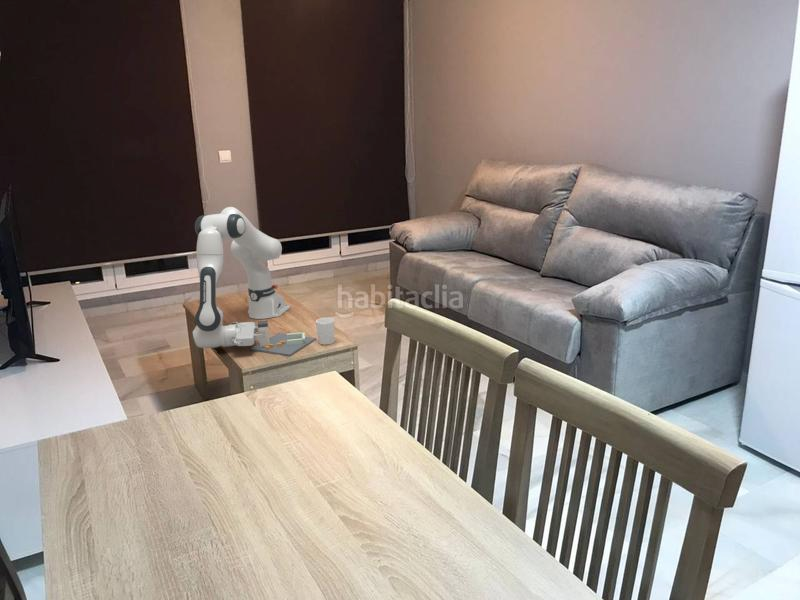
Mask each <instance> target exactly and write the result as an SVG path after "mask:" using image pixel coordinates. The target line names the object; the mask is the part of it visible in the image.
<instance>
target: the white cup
mask: <svg viewBox="0 0 800 600" xmlns="http://www.w3.org/2000/svg"><path fill="white" fill-rule="evenodd" d="M315 325H316V335H317V338H318V344H319V343H320V345H321V344H329V345H332V344H333V343H335V334H336V333H335V318H332V317H321V318H317V319H316V320H315ZM331 343H332V344H331Z"/></svg>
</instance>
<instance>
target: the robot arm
mask: <svg viewBox="0 0 800 600" xmlns="http://www.w3.org/2000/svg"><path fill="white" fill-rule="evenodd" d="M194 230H195V233H196V235H197V239H196V240H197V241H196V253H195V254H196V266H197V273H198V278H199V307H198V309H197V311H196V314H195V316H194V321H195V325H196V326H195V327H194V329H193V330H192V339H193V343H194V344H195V346H196V347H198V348H201V349H215V348H216V349H217V348H218V347H234V346H235V347H236V346H237V347H249V346H251V347H252V346H255V341H258V340H259V339H261V338H265V337H266V334H265V333H261V334H259V332H258V325H256V322H254V321H245V322H238V321H233V322H232V323H230V324H228V325H223V320H224V313H223V310H222V309H221V308H220V307H219V306H217V299H216V298H217V282H218V279H219V277H220V275H221V274H222V272H223V267H224V259H225V258H224V257H225V256H224V243H223V240H228V239H232V242H231V244H230V251H231V255H233V257H234V258H235V259H237V260H238V261H239V262H240V263H241V265H242V266H243V268H244V270H245V273H246V277H247V284H248V290H247V291H248V310H247V314H248V317H249V318H251V319H255V320H261V319H262V320H264V319H265V320H266V319H272V318H278V317H280V316H282V315H283V314H284V313H286V312H287V311H288V310H290V309H291V305H290V304H286V301H285V300H286V299H285V298H284V296H283V295H281V294H279V293H277V292H276V291H275V290H277V289H278V288H279V287H278V285H279V284H273V282H272V274H271V271H270V269H269V268H268V267H267V266H265V265H264V264H263V263H262V262H261V261H271V260H272V261H273V260H276V259H279V258H280V256H281V255H282V251H283V247H282V243H281V242H280V240H279V239H277V238H274V237H271V236H269V235H268V234H266V233H264V232H262V231H261V230H259V229H258V228H256V227H255V226H254V225H253V224H252V223H251V221H250V220H249V219H248V217H247V216H245V214H244V213H243V212H241V211H240V210H239V209H237V208H236V207H233V206H227V207H225V208H223V209H222V211H221V212H220V213H215V214H214V213H212V214H203V215H200V216H198V217H197V218H196V220H195V222H194ZM257 333H258V334H257Z"/></svg>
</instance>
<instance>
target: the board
mask: <svg viewBox="0 0 800 600" xmlns="http://www.w3.org/2000/svg"><path fill="white" fill-rule="evenodd" d="M287 334H288V333H282V332H277V333H276V334H273V335H272V336H269V339H270V344H269V346H261V347H260V343H258V344H256V345H253V347H251V348H250V351H253V352H260V353H268V354H272V355H278V354H279V355H280V356H285V357H291V356H293V355H295V354H297V352H299V351H301V350H302V349H304V348H305V346H306V345H307V346H309V345H310V344H312V343H314V342H315V341H316V340H317V338H316V337H312V336H305V342H306V343H305V344H295V345H287V340H291V339H287ZM292 339H301V338H292ZM314 340H315V341H314ZM311 342H312V343H311ZM308 344H309V345H308ZM307 346H306V347H307ZM303 347H304V348H303ZM300 349H301V350H300Z"/></svg>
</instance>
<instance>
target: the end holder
mask: <svg viewBox="0 0 800 600" xmlns="http://www.w3.org/2000/svg"><path fill="white" fill-rule="evenodd" d="M286 334H287V339H291V340H287V345H295V344H305V343H306V342H305V337H306V332H305V331H303V332H294V333H293V332H292V333H290V332H289V333H286ZM292 338H301V339H292Z"/></svg>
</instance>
